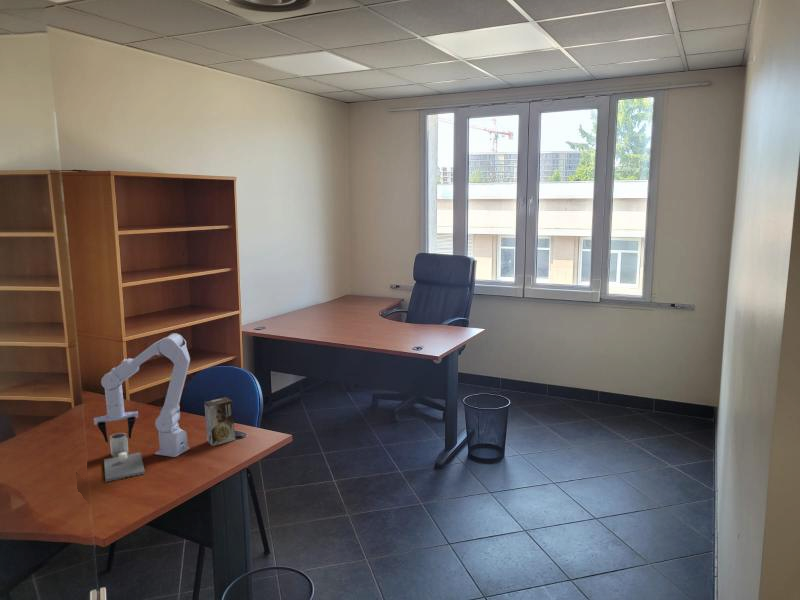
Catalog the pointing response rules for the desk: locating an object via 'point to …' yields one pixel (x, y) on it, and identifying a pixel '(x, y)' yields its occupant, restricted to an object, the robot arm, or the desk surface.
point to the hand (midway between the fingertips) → (118, 439)
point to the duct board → (123, 466)
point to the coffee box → (219, 421)
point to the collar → (118, 444)
